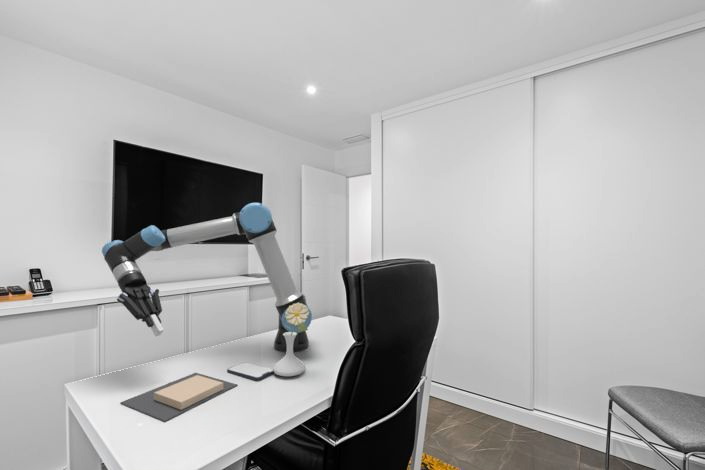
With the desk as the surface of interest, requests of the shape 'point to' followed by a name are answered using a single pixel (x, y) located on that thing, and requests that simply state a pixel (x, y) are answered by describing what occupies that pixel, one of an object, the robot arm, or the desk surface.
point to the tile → (188, 392)
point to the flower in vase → (290, 362)
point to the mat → (164, 411)
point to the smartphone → (251, 371)
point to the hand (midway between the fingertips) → (159, 333)
